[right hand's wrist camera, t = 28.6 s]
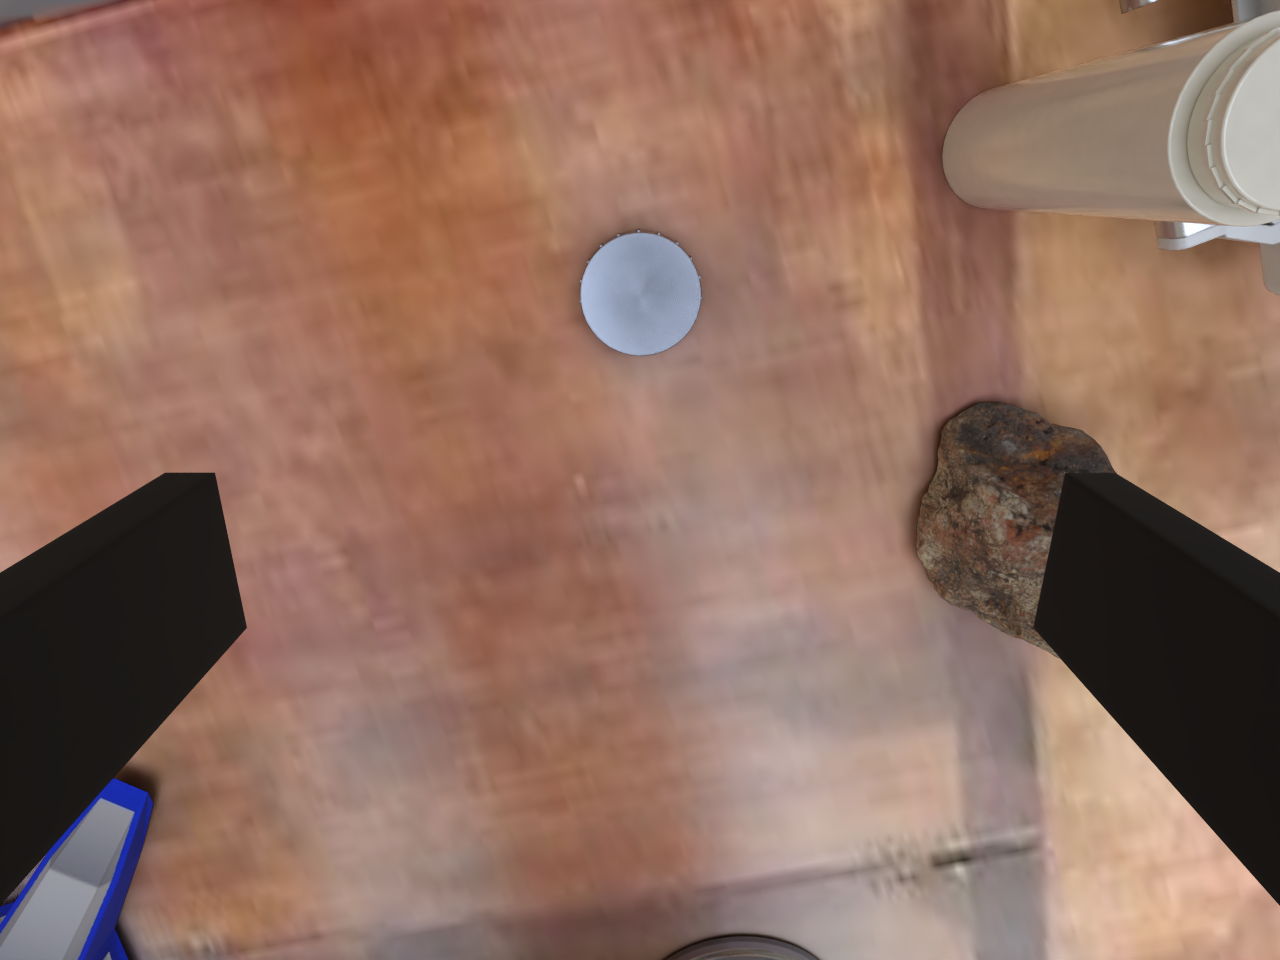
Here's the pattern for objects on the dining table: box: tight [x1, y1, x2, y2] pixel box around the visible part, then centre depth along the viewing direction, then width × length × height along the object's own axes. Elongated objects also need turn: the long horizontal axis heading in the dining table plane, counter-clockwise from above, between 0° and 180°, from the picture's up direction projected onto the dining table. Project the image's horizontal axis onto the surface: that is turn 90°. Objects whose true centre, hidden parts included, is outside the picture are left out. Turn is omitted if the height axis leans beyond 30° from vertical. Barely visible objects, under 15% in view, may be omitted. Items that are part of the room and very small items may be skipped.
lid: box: [580, 229, 702, 356], centre depth 39 cm, size 6×6×2 cm
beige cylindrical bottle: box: [942, 10, 1280, 227], centre depth 29 cm, size 5×5×19 cm
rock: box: [916, 402, 1117, 658], centre depth 40 cm, size 14×9×10 cm
